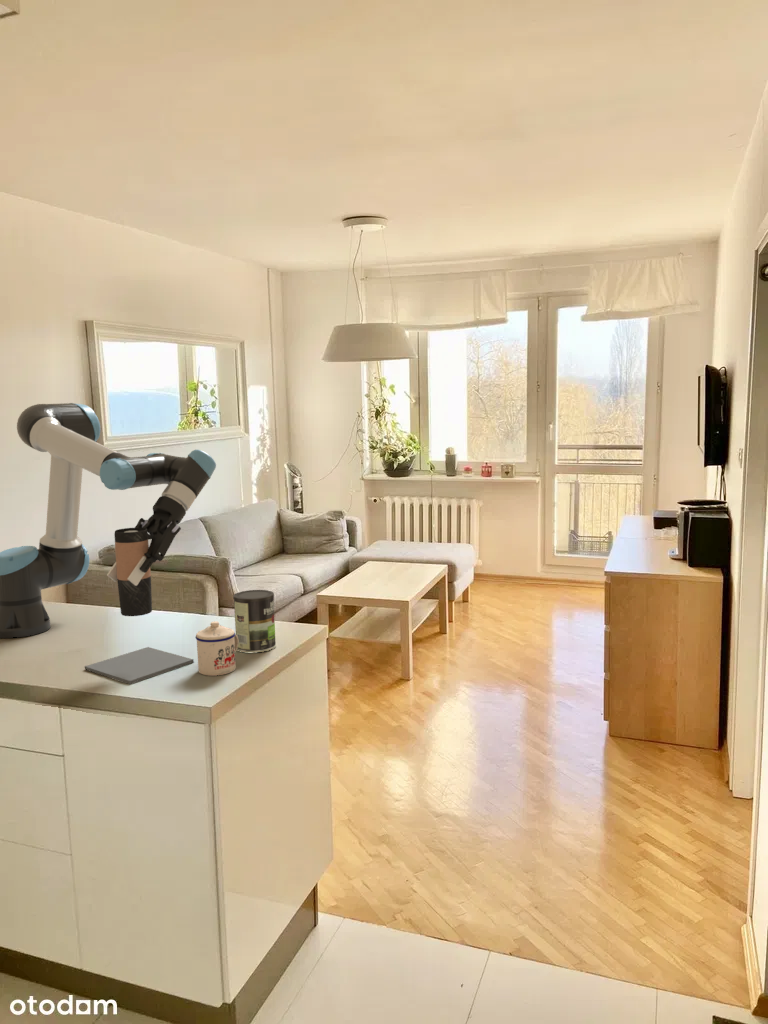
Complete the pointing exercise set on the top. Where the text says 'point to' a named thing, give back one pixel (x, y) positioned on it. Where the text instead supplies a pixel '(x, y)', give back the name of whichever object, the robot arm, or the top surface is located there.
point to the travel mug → (127, 557)
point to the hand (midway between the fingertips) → (121, 580)
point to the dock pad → (139, 665)
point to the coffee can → (255, 620)
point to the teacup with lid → (216, 650)
